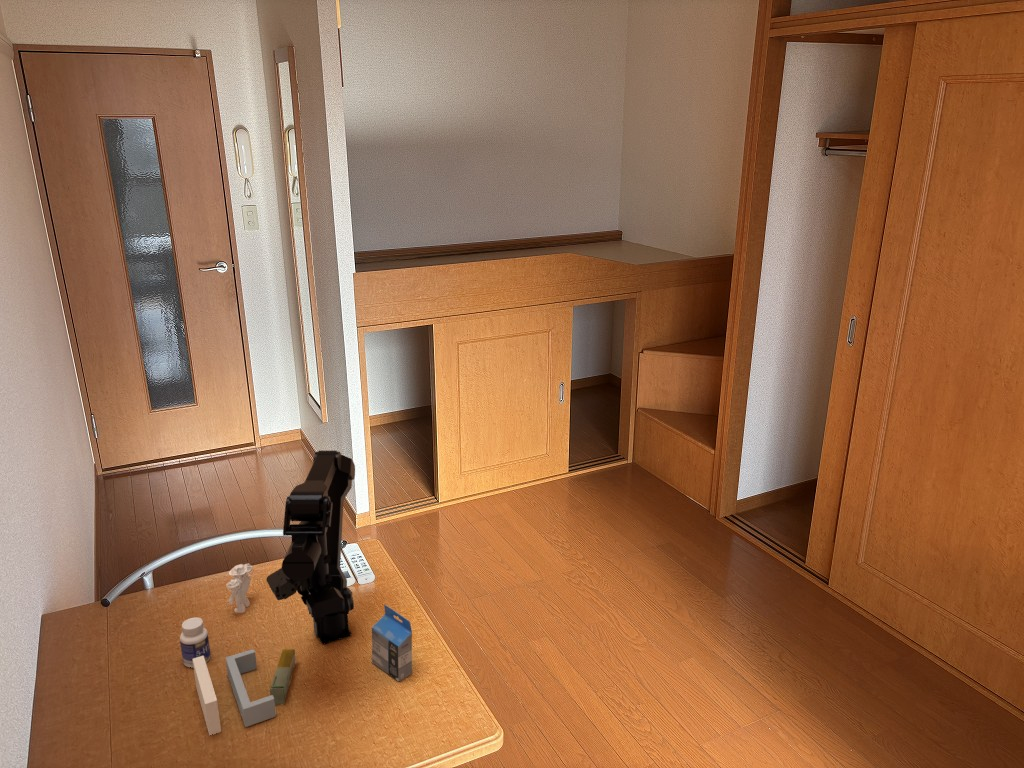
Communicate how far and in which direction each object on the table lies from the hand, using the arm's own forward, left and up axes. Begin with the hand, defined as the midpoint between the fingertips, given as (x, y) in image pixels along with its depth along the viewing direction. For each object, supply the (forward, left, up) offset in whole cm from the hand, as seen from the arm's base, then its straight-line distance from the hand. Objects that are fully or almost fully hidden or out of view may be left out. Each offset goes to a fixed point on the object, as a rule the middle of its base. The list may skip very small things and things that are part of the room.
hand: (317, 620), depth 148 cm
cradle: (+13, 0, -12) cm, 18 cm away
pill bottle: (+21, -16, -12) cm, 29 cm away
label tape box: (-13, +6, -12) cm, 19 cm away
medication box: (+7, 0, -12) cm, 14 cm away
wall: (+22, 0, -12) cm, 25 cm away
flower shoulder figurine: (+9, -30, -12) cm, 34 cm away
